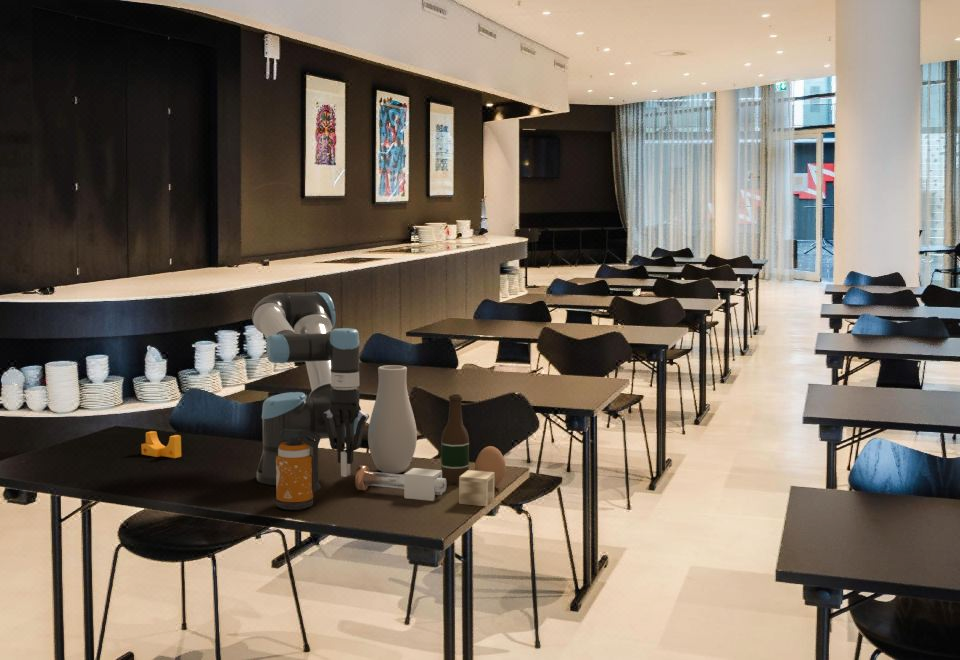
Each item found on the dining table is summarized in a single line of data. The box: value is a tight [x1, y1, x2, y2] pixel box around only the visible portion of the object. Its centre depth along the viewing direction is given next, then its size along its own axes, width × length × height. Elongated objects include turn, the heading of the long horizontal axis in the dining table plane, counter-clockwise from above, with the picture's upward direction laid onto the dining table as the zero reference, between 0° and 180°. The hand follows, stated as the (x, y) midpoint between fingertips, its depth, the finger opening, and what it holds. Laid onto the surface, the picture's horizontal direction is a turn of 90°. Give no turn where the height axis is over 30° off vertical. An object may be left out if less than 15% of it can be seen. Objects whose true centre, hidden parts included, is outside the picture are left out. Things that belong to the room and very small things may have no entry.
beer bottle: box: [440, 393, 470, 485], centre depth 284 cm, size 8×8×24 cm
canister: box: [275, 427, 322, 511], centre depth 258 cm, size 9×11×20 cm
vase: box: [367, 364, 418, 474], centre depth 293 cm, size 14×14×30 cm
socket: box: [458, 469, 495, 507], centre depth 265 cm, size 7×7×7 cm
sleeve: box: [403, 467, 443, 502], centre depth 270 cm, size 8×7×6 cm
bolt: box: [354, 465, 448, 493], centre depth 271 cm, size 24×6×6 cm, turn 73°
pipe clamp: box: [140, 430, 182, 459], centre depth 311 cm, size 12×4×6 cm, turn 60°
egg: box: [474, 445, 507, 488], centre depth 279 cm, size 8×8×11 cm
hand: (345, 475), depth 276 cm, fingers closed
